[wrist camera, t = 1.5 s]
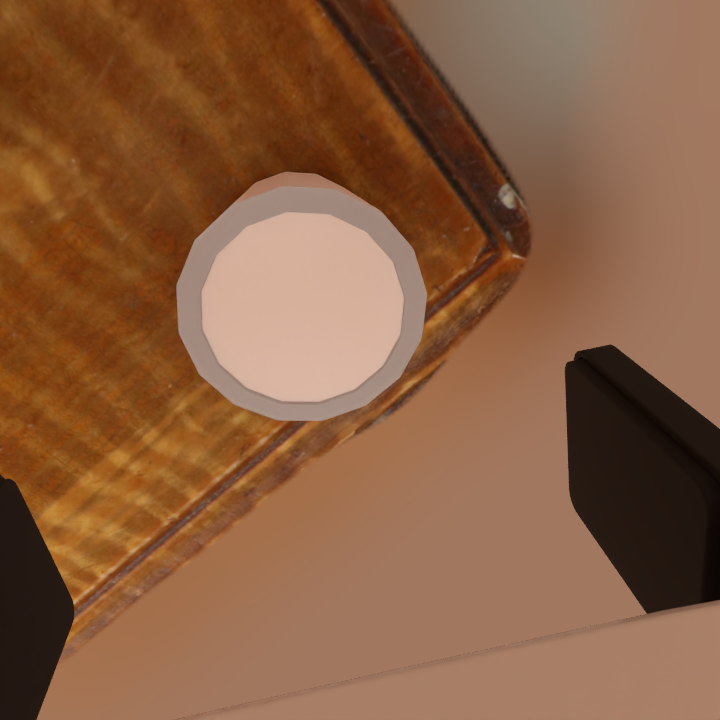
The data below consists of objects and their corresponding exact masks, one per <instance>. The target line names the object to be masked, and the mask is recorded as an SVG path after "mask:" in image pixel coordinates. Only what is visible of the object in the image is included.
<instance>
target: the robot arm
mask: <svg viewBox="0 0 720 720" xmlns="http://www.w3.org/2000/svg"><path fill="white" fill-rule="evenodd" d="M565 383H566V411H567V438H568V439H567V440H568V468H569V491H570V497H571V500H572V504H573V506H574V509H575V510H576V512H577V513H578V515H579V517H580V518H581V519H582V521H583V522H584V524H585V525H586V527H587V528H588V530H589V531H590V532H591V534H592V535H593V537H594V538H595V540H596V541H597V542H598V544H599V545H600V547H601V548H602V550H603V551H604V552H605V554H606V555H607V557H608V558H609V560H610V561H611V563H612V564H613V565H614V567H615V568H616V570H617V571H618V573H619V574H620V576H621V577H622V578H623V580H624V581H625V583H626V584H627V586H628V587H629V588H630V590H631V591H632V593H633V594H634V596H635V597H636V599H637V600H638V601H639V603H640V604H641V606H642V607H643V608H644V610H645V611H646V613H647V614H645V615H640V616H636V617H631V618H626V619H622V620H617V621H612V622H608V623H603V624H599V625H594V626H590V627H585V628H581V629H576V630H571V631H567V632H563V633H558V634H554V635H549V636H544V637H540V638H535V639H531V640H526V641H522V642H517V643H512V644H508V645H503V646H499V647H495V648H490V649H485V650H481V651H476V652H472V653H467V654H463V655H458V656H454V657H449V658H445V659H440V660H436V661H431V662H427V663H422V664H417V665H413V666H408V667H404V668H399V669H395V670H390V671H386V672H381V673H377V674H373V675H368V676H364V677H360V678H355V679H350V680H346V681H342V682H337V683H333V684H328V685H324V686H319V687H315V688H311V689H306V690H302V691H297V692H293V693H288V694H284V695H280V696H275V697H271V698H267V699H262V700H258V701H254V702H249V703H245V704H240V705H236V706H231V707H227V708H223V709H218V710H214V711H210V712H205V713H201V714H196V715H193V716H188V717H183V718H179V719H174V720H720V429H719V428H718V427H717V426H715V425H714V424H713V423H711V422H710V421H709V420H708V419H706V418H705V417H704V416H703V415H701V414H700V413H699V412H698V411H696V410H695V409H694V408H692V407H691V406H690V405H689V404H687V403H686V402H685V401H684V400H682V399H681V398H680V397H678V396H677V395H676V394H675V393H673V392H672V391H671V390H669V389H668V388H667V387H666V386H664V385H663V384H662V383H661V382H659V381H658V380H657V379H655V378H654V377H653V376H652V375H650V374H649V373H648V372H646V371H645V370H644V369H643V368H641V367H640V366H639V365H637V364H636V363H635V362H634V361H633V360H631V359H630V358H629V357H627V356H626V355H625V354H624V353H622V352H621V351H620V350H619V349H617V348H616V347H615V346H613V345H606V346H601V347H596V348H592V349H587V350H582V351H578V352H577V353H576V354H575V357H574V361H570V362H567V364H566V367H565ZM73 620H74V605H73V601H72V598H71V596H70V594H69V591H68V589H67V587H66V585H65V583H64V581H63V579H62V577H61V575H60V573H59V571H58V569H57V567H56V565H55V563H54V560H53V558H52V556H51V554H50V552H49V550H48V548H47V546H46V544H45V542H44V540H43V538H42V536H41V534H40V531H39V529H38V527H37V525H36V523H35V521H34V519H33V517H32V515H31V513H30V511H29V509H28V507H27V505H26V503H25V500H24V498H23V496H22V494H21V492H20V490H19V488H18V486H17V485H16V483H15V482H14V481H13V480H11V479H4V478H3V477H2V476H1V475H0V720H36V719H37V716H38V714H39V711H40V709H41V706H42V703H43V701H44V698H45V695H46V693H47V690H48V687H49V685H50V682H51V679H52V677H53V674H54V671H55V669H56V666H57V663H58V661H59V658H60V655H61V653H62V650H63V647H64V645H65V642H66V639H67V637H68V634H69V631H70V629H71V626H72V623H73Z"/></svg>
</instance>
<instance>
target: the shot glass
mask: <svg viewBox="0 0 720 720" xmlns="http://www.w3.org/2000/svg"><path fill="white" fill-rule="evenodd" d="M176 288H177V309H178V330H179V335H180V337H181V339H182V341H183V343H184V345H185V347H186V349H187V351H188V353H189V355H190V357H191V359H192V361H193V363H194V365H195V367H196V369H197V371H198V373H199V375H201V376H202V377H203V378H204V379H205V380H206V381H207V382H209V383H210V384H211V385H212V386H213V387H214V388H216V389H217V390H218V391H219V392H220V393H221V394H222V395H224V396H225V397H226V398H227V399H228V400H229V401H231V402H232V403H233V404H234V405H236V406H239V407H242V408H245V409H247V410H250V411H253V412H255V413H258V414H261V415H264V416H266V417H269V418H272V419H275V420H284V421H323V420H326V419H329V418H332V417H335V416H338V415H341V414H343V413H346V412H349V411H352V410H355V409H358V408H361V407H364V406H366V405H367V404H368V403H369V402H371V401H372V400H373V399H374V398H376V397H377V396H378V395H379V394H380V393H382V392H383V391H384V390H385V389H387V388H388V387H389V386H390V385H391V384H393V383H394V382H395V381H396V380H398V379H399V378H400V376H401V375H402V373H403V371H404V369H405V368H406V366H407V364H408V362H409V361H410V359H411V357H412V355H413V353H414V352H415V350H416V348H417V346H418V345H419V343H420V341H421V339H422V333H423V324H424V316H425V308H426V300H427V292H426V288H425V285H424V282H423V278H422V275H421V272H420V268H419V265H418V262H417V258H416V255H415V252H414V249H413V248H412V247H411V245H410V244H409V243H408V242H407V241H406V240H405V238H404V237H403V236H402V235H401V234H400V233H399V231H398V230H397V229H396V228H395V227H394V226H393V224H392V223H391V222H390V221H389V220H388V218H387V217H386V216H385V215H384V214H383V213H382V212H381V211H380V210H378V209H377V208H375V207H373V206H372V205H370V204H369V203H367V202H366V201H364V200H363V199H361V198H359V197H358V196H356V195H355V194H353V193H352V192H350V191H349V190H347V189H345V188H344V187H342V186H340V185H338V184H336V183H334V182H332V181H330V180H328V179H326V178H324V177H322V176H320V175H318V174H314V173H297V172H283V173H280V174H277V175H274V176H272V177H269V178H266V179H263V180H261V181H258V182H255V183H254V184H253V185H252V186H251V187H250V188H249V189H248V190H247V191H246V192H245V193H244V194H243V195H242V196H241V197H239V198H238V199H237V200H236V201H235V202H234V203H233V204H232V205H231V206H230V207H229V208H228V209H227V210H226V211H225V212H224V213H223V214H222V215H220V216H219V217H218V218H217V219H216V220H215V221H214V222H213V223H212V224H211V225H210V226H209V227H208V228H207V229H206V230H205V231H204V232H203V233H202V234H201V235H199V236H198V237H197V238H196V239H195V241H194V243H193V246H192V248H191V251H190V253H189V256H188V258H187V261H186V263H185V266H184V268H183V270H182V273H181V275H180V278H179V280H178V283H177V285H176Z"/></svg>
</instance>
